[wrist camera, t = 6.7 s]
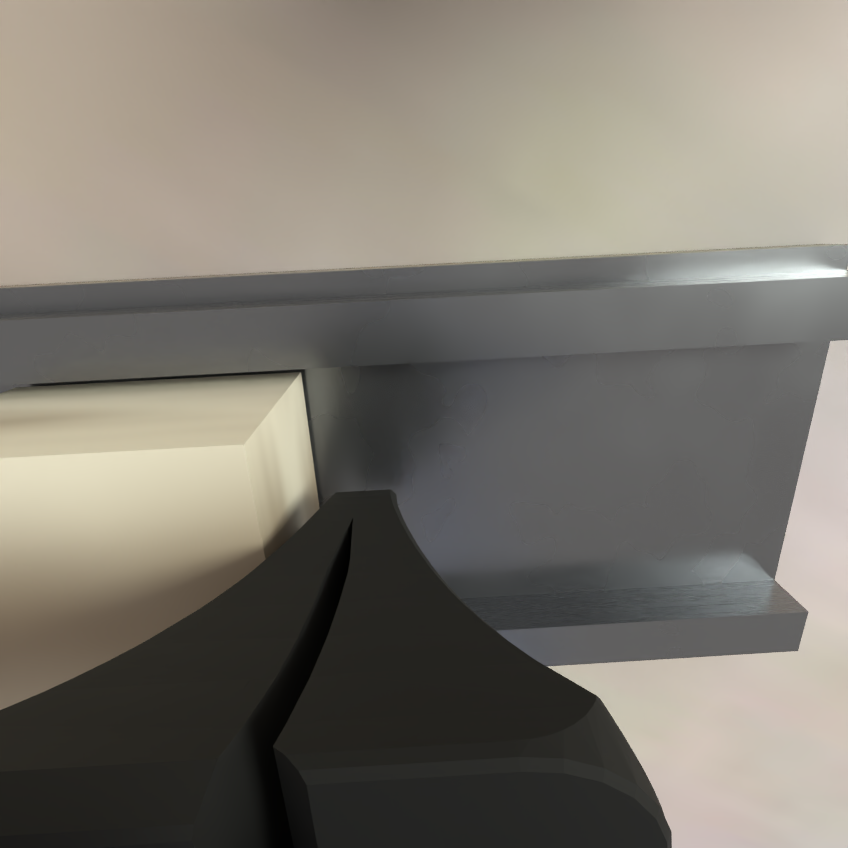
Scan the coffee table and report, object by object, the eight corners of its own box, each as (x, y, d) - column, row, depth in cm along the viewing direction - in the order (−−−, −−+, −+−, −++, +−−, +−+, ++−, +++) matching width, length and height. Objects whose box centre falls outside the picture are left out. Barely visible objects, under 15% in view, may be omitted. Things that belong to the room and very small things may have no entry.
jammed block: (332, 601, 13) (301, 752, 9) (94, 616, 13) (-37, 773, 9) (301, 372, 11) (244, 444, 7) (16, 387, 11) (-197, 468, 7)
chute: (744, 611, 15) (802, 675, 12) (-26, 657, 14) (-102, 732, 12) (822, 243, 11) (922, 245, 9) (-192, 295, 11) (-340, 311, 9)
